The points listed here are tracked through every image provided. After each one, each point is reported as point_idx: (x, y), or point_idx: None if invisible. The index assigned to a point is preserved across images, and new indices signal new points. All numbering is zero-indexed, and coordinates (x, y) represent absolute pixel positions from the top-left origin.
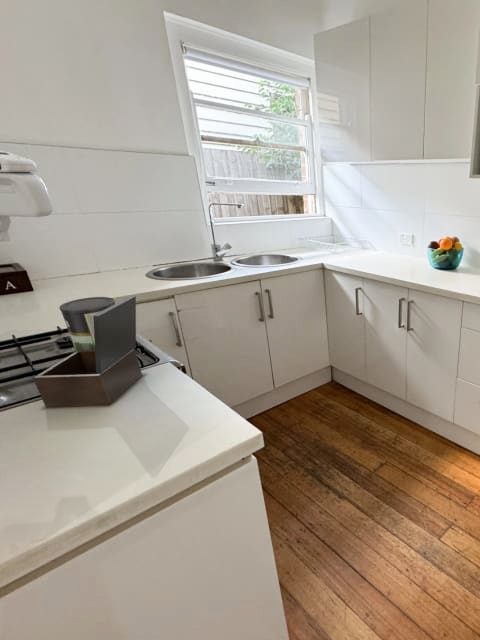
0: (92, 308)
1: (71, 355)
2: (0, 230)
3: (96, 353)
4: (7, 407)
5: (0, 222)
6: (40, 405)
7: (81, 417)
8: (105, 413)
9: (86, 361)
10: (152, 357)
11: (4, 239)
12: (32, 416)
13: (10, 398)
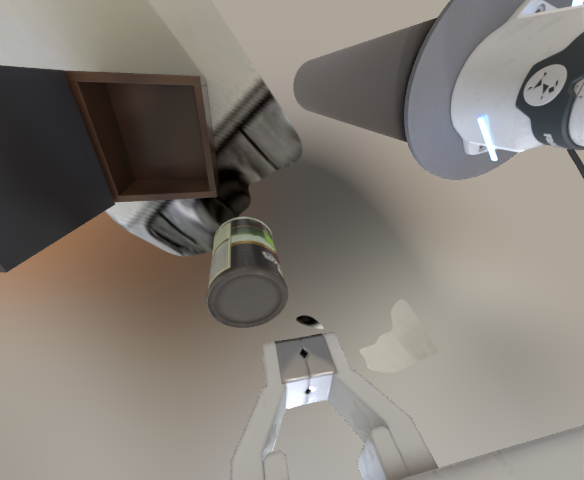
0: (217, 280)
1: (209, 174)
2: (259, 397)
3: (10, 66)
4: (266, 87)
5: (236, 460)
6: (221, 88)
7: (112, 30)
8: (77, 40)
9: (205, 185)
10: (168, 240)
11: (262, 354)
12: (204, 48)
13: (282, 117)
